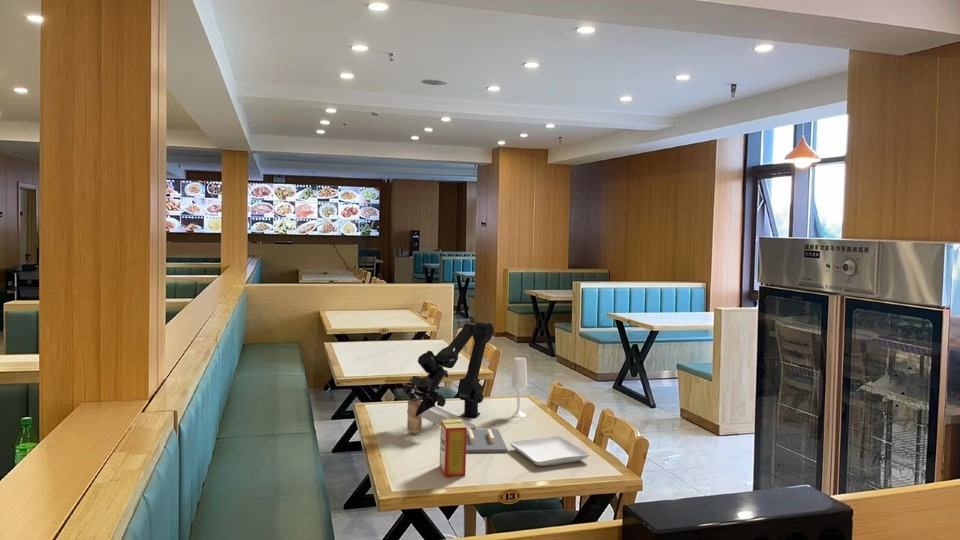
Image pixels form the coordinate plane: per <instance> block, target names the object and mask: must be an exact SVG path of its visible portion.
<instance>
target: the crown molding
mask: <svg viewBox="0 0 960 540" xmlns="http://www.w3.org/2000/svg"><path fill="white" fill-rule="evenodd" d="M433 410H434V411H433ZM422 417H423V418H422V419H424V418H425V419H424V420H426V419H427V420H429V421H431V422H433V423H435V424H437V425H439V426H441V419H461V420H462V421H463V423H464V424H465V426H466V427H467V428H468V429H477V426H476V425H475V424H473V423H472V422H470V421H467V420H465V419H463V418H461V417H460V416H457V415H456V414H453V413H452V412H449V411H448V410H446V409H443V408H441V407H440V406H438V405H436V406H435V407H432V408H430V409H428V410H426V411H425V412H423V413H422ZM427 420H426V421H427ZM429 421H428V422H429ZM431 422H430V423H431ZM433 423H432V424H433ZM435 424H434V425H435ZM437 425H436V426H437Z"/></svg>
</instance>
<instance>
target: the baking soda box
mask: <svg viewBox="0 0 960 540" xmlns="http://www.w3.org/2000/svg"><path fill="white" fill-rule="evenodd" d="M466 437H467V427H466V426H465V424H464V423H463V421H462V420H461V419H441V428H440V438H439V439H440V440H439V441H440V443H439V446H440V447H439V468H440V470H441V472H442V475H443V474H444V475H443V477H444V476H445V477H444V478H453V477H452V476H461V477H466V462H467V453H466Z"/></svg>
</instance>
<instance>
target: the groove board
mask: <svg viewBox="0 0 960 540" xmlns="http://www.w3.org/2000/svg"><path fill="white" fill-rule="evenodd" d="M468 452H487V454H495V453H496V454H499V453H506V454H507V453H508V447H507V446H506V443H505V441H504V439H503V436H502V435H501V433H500V431H499V429H497V428H493V429H492V428H487V429H484V428H483V429H480V428H479V429H477V428H473V429H467V437H466V454H469V453H468Z"/></svg>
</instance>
